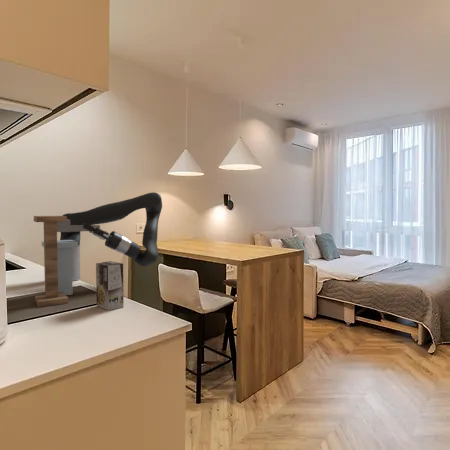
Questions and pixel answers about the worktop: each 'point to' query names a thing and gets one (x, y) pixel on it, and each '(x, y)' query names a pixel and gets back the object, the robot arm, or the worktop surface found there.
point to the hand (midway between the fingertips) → (83, 225)
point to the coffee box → (109, 285)
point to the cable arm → (71, 227)
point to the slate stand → (65, 265)
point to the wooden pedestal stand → (50, 262)
